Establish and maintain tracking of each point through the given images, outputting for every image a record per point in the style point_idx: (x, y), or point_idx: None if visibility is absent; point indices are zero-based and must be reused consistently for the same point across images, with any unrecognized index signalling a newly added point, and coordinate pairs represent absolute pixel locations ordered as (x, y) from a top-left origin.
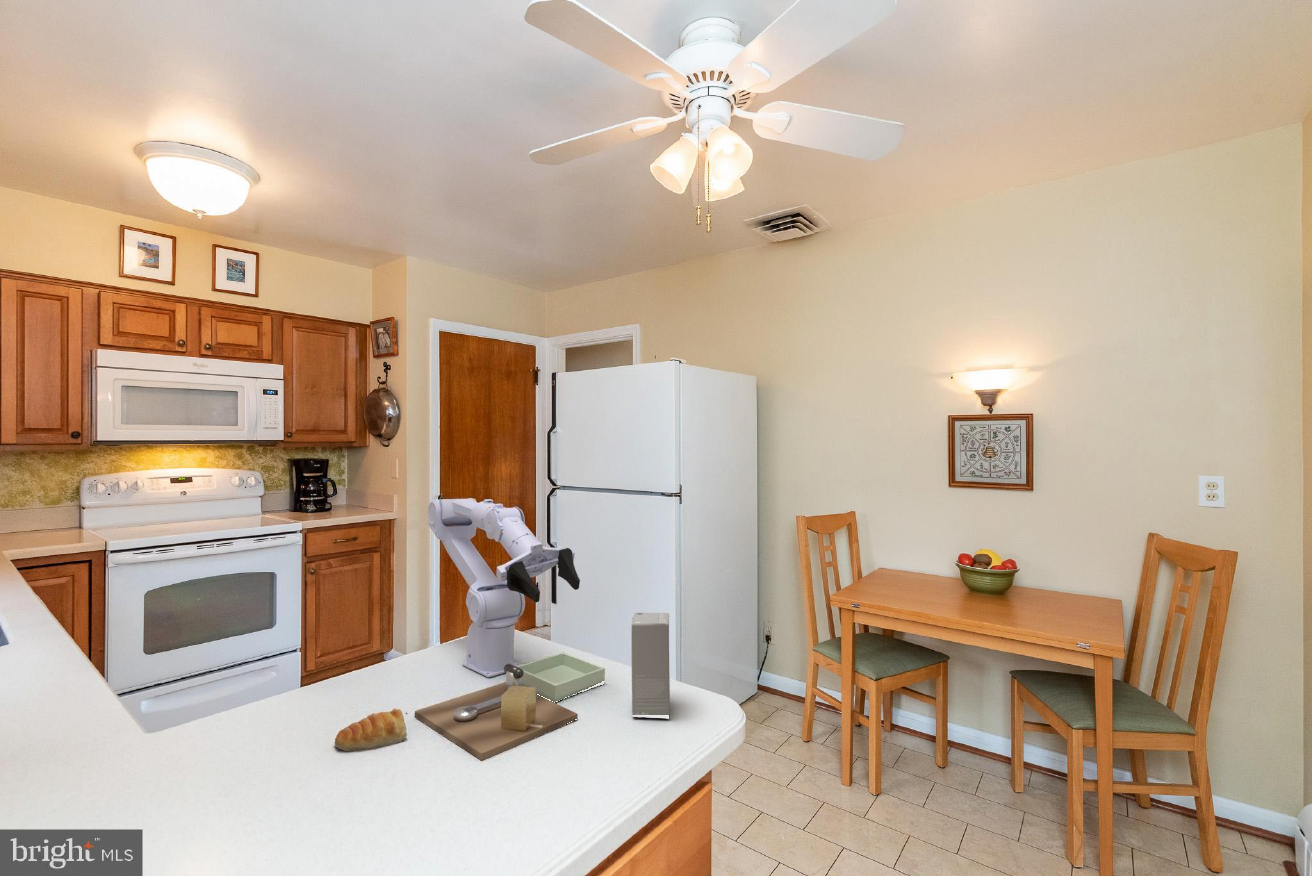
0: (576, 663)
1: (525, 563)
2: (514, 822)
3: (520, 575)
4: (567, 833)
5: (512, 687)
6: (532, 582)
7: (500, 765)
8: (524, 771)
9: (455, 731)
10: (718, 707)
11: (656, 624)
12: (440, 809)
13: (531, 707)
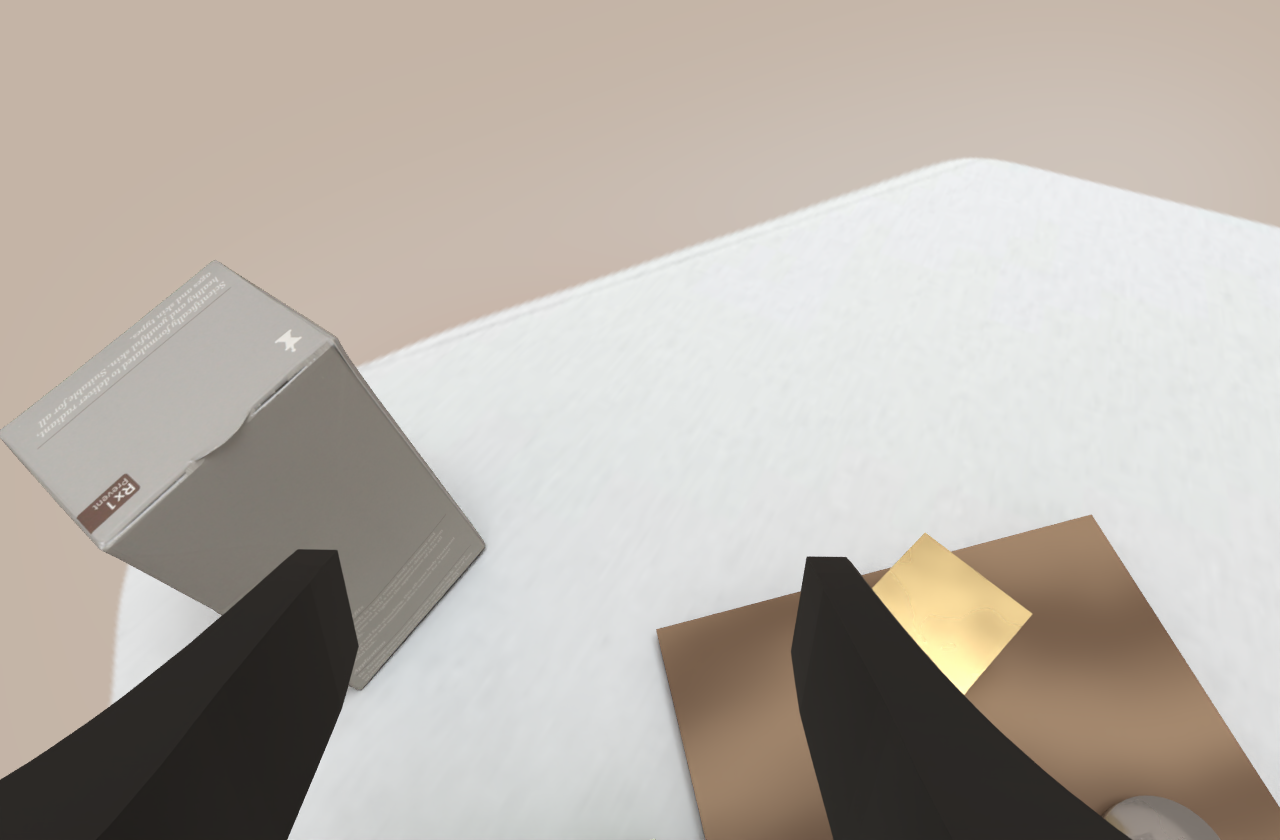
0: None
1: None
2: (1024, 260)
3: (1065, 788)
4: (920, 203)
5: (959, 678)
6: (875, 646)
7: (1020, 477)
8: (953, 420)
9: (1201, 730)
10: None
11: (250, 284)
12: (1214, 356)
13: None
